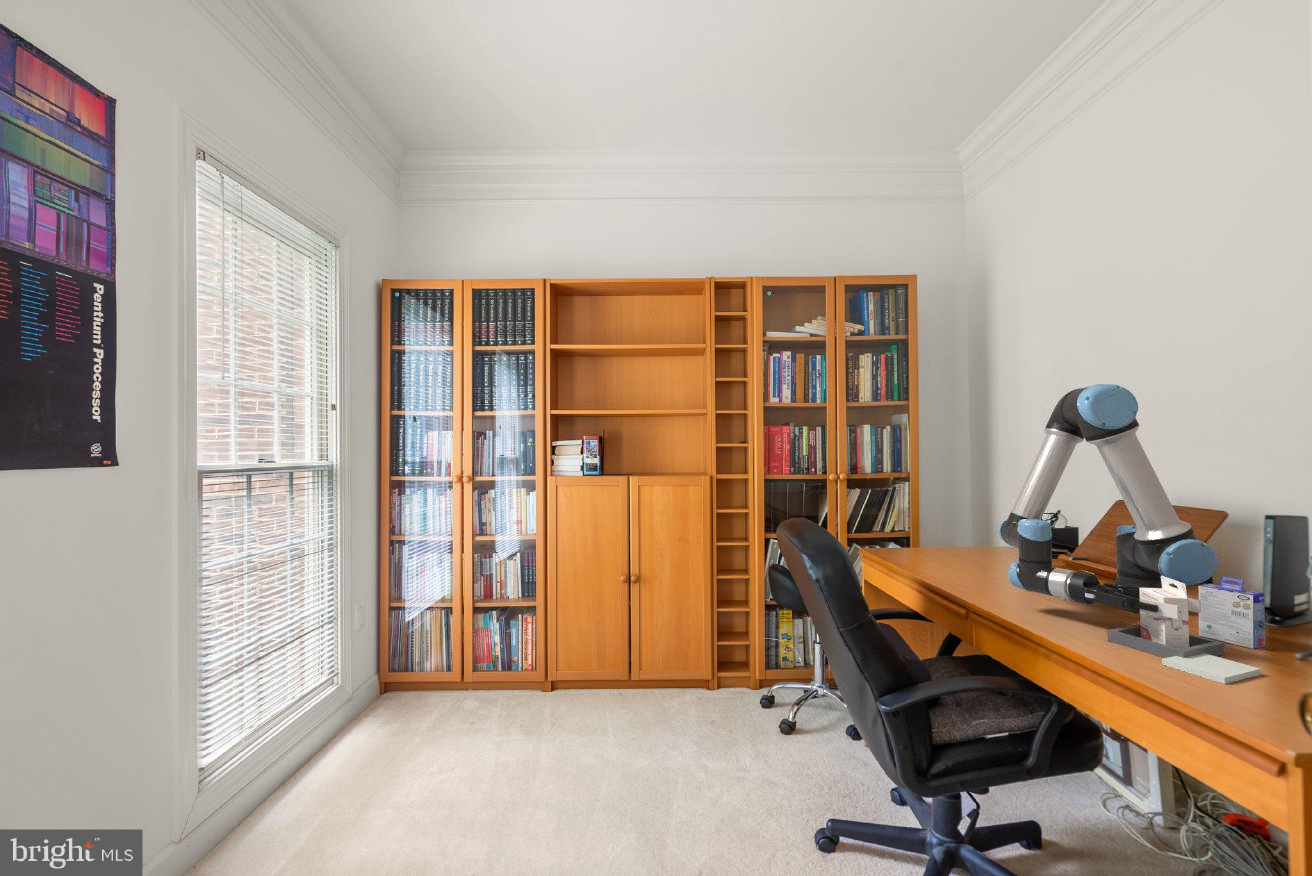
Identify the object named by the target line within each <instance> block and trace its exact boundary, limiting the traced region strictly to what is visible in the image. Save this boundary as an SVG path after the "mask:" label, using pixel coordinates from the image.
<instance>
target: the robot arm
mask: <svg viewBox="0 0 1312 876" xmlns="http://www.w3.org/2000/svg"><path fill="white" fill-rule="evenodd" d="M1138 412H1139V403H1138V401H1137V398H1136V396H1134V394H1133V393H1132V392H1131V391H1130V390H1128V389H1127V388H1125V387H1124V386H1121V385H1117V384H1111V383H1100V384H1099V383H1098V384H1092V385H1090V386H1086V387H1080V388H1076V389H1073V390H1070V391H1068V392H1067V393H1066V394H1064V395H1063V396H1062V397H1061V398H1060V399H1059V400H1058V402H1057V403H1056V405H1055V407H1054V409H1053V411H1052V413H1051V414H1050V417H1049V418H1048V421H1047V423H1046V425H1045V427H1044V432H1045V437H1044V439H1043V440H1042V444H1041V446H1040V447H1039V450H1038V452H1037V455H1036V457H1035V459H1034V461H1033V463H1032V466H1031V468H1030V470H1029V472H1028V474H1027V477H1026V478H1025V481H1024V482H1023V486H1022V488H1020V489H1021V490H1020V492H1019V494H1018V495H1017V498H1016V500H1015V502H1014V504H1013V507H1012V509H1011V511H1010V514H1009V515H1008V517H1007V519H1005V520H1004V521H1001V523H1000V524H999V525H998V528H997V533H998V536H999V538H1000V539H1001V540H1002V541H1004V543H1006V544H1007V545H1009V546H1011V547H1014V548H1016V549H1018V560H1015V561H1013V562H1011V564H1010V565H1009V570H1008V571H1007V577H1008V581H1009V582H1010V584H1011V585H1012V586H1013V587H1015V588H1017V589H1021V590H1024V591H1027V592H1030V593H1036V594H1041V595H1046V596H1051V597H1055V598H1059V599H1060V600H1061V601H1063V602H1064V601H1066V600H1068V601H1073V602H1076V603H1080V604H1085V605H1093V604H1094V603H1099V604H1102V605H1105V606H1109V607H1112V608H1117V609H1121V610H1124V611H1127V612H1132V613H1133V614H1136V615H1137V614H1138V615H1140V609H1141V611H1143V612H1148V613H1153V614H1157V615H1162V616H1166V617H1171V618H1175V619H1179V606H1177V605H1172V604H1167V603H1162V602H1157V601H1152V600H1147V599H1141V602H1140V589H1139V588H1162V583H1161V576H1164V577H1167V578H1170V579H1173V580H1176V581H1178V582H1181V583H1184V584H1185V585H1186V586H1194V585H1199V584H1203V583H1204V582H1206V581H1208V580H1209V579H1210V578H1211V577H1212V576H1214V573H1215V571H1216V570H1217V569H1218V564H1219V560H1218V555H1217V553H1216V552H1215V550H1214V548H1212V547H1211V546H1210V545H1209V544H1207V543H1206V542H1204V541H1201V540H1199V538H1198V536H1197V534H1196V533H1195V530H1194V529H1193V526H1192V525H1191V523H1189V522H1187V521H1183V520H1182V519H1180V518H1179V516H1178V514H1177V512H1176V511H1175V508H1174V507H1173V504H1172V502H1171V500H1170V499H1169V496H1168V495H1167V493H1166V491H1165V489H1164V487H1163V484H1162V483H1161V481H1160V479H1159V477H1158V475H1157V474H1156V471H1155V470H1154V468H1153V466H1152V464H1151V462H1150V460H1149V458H1148V456H1147V454H1146V452H1145V450H1144V447H1143V446H1142V444H1141V442H1140V439H1139V437H1138V436H1137V434H1136V433H1137V431H1138V430H1139V427H1140V424H1139V423H1140V422H1138V419H1137V413H1138ZM1084 440H1085V442H1086V443H1089V444H1091V445H1094V446H1096V449H1097V450H1098V452H1099V454H1100V456H1101V458H1102V460H1103V462H1104V464H1105V466H1106V468H1107V471H1108V472H1109V474H1110V476H1111V478H1112V480H1113V481H1114V484H1115V486H1116V488H1117V489H1118V492H1119V494H1120V496H1121V498H1122V500H1123V502H1124V504H1125V505H1126V508H1127V510H1128V512H1129V513H1130V516H1131V518H1132V520H1133V522H1134V523H1135V524H1122V525H1119V526H1118V527H1116V533H1115V542H1116V543H1115V544H1116V545H1115V546H1116V578H1115V582H1113V584H1112V583H1110V582H1103V584H1101V582H1099V578H1097V576H1096V575H1094V574H1092V573H1087V572H1081V571H1075V570H1072V569H1065V568H1060V567H1054V566H1053V548H1052V547H1053V543H1052V542H1053V541H1052V539H1053V533H1052V527H1051V523H1050V522H1049V521H1048V520H1045V519H1043V520H1042V518H1043V516H1044V514H1045V512H1046V510H1047V508H1048V506H1049V504H1050V501H1051V499H1052V497H1053V495H1054V493H1055V490H1056V489H1057V486H1058V485H1059V483H1060V480H1061V478H1062V476H1063V474H1064V472H1065V470H1066V467H1067V465H1068V463H1069V462H1070V459H1071V457H1072V456H1073V453H1074V451H1075V449H1076V446H1077V445H1078V444H1079V443H1082V442H1083V441H1084ZM1169 585H1170V586H1171V587H1174V586H1175V585H1174V584H1173V583H1172V584H1170V583H1169ZM1174 588H1175V587H1174ZM1187 598H1188V612H1193V613H1198V614H1199V613H1201V600H1199V599H1197V598H1196V599H1195V598H1191V597H1187Z"/></svg>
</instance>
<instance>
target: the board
mask: <svg viewBox="0 0 1312 876" xmlns="http://www.w3.org/2000/svg"><path fill="white" fill-rule="evenodd" d="M1161 665H1162V666H1165V665H1166V667H1169V668H1171V667H1172V668H1171V669H1174V670H1178V669H1179V670H1178V671H1182V672H1184V671H1185V673H1189V674H1191V675H1194V674H1195V676H1197V677H1200V676H1201V678H1203V679H1208V680H1209V681H1214V682H1216V683H1220V684H1223V685H1226V684H1230V683H1235V682H1237V681H1241V680H1246V678H1247V679H1249V678H1251V679H1252V678H1253V677H1258V676H1261V675H1262V669H1261V668H1260V667H1255V666H1252V665H1248V664H1244V663H1242V662H1241V663H1240V662H1238V661H1234V660H1230V659H1227V658H1223V657H1219V656H1213V655H1209V654H1205V653H1203V654H1199V655H1194V656H1190V657H1185V658H1182V657H1179V656H1173V657H1168V658H1162V659H1161Z"/></svg>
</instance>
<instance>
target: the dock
mask: <svg viewBox="0 0 1312 876" xmlns="http://www.w3.org/2000/svg"><path fill="white" fill-rule="evenodd" d="M1106 631H1107V633H1106V634H1107V642H1110V643H1113V644H1117V645H1121V646H1124V647H1126V646H1127V648H1130V649H1133V648H1134V649H1133V650H1136V649H1138V650H1137V651H1141V652H1143V651H1145V652H1144V653H1147V654H1150V653H1151V654H1150V655H1154V656H1157V655H1158V656H1157V657H1160V656H1161V657H1160V658H1162V659H1164V658H1168V657H1173V656H1179V657H1182V658H1185V657H1190V656H1194V655H1199V654H1203V653H1205V654H1209V655H1213V656H1216V657H1219V656H1224V655H1226V653H1225V652H1226V650H1225V644H1226V642H1223V641H1219V640H1214V639H1210V638H1206V637H1202V636H1199V635H1195V634H1192V633H1189V647H1186V648H1182V649H1179V648H1175V647H1171V646H1168V645H1164V644H1161V643H1157V642H1154V641H1150V640H1147V639H1143V638H1141V632H1140V624H1134V625H1128V626H1123V627H1117V628H1112V629H1107V630H1106ZM1190 646H1191V647H1190Z"/></svg>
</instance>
